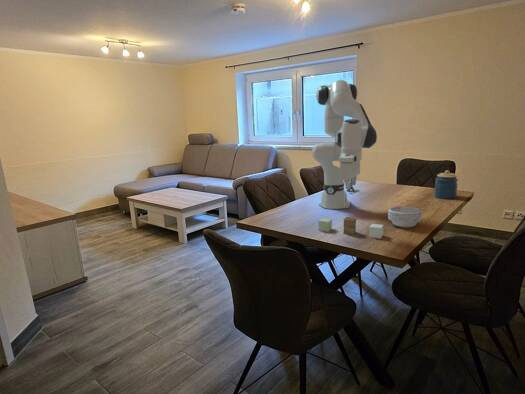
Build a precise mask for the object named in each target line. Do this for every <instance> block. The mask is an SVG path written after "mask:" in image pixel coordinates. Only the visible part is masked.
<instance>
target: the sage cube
mask: <svg viewBox="0 0 525 394" xmlns="http://www.w3.org/2000/svg"><path fill="white" fill-rule="evenodd" d="M332 225H333V219H331V218H327V217H326V218H325V217H322V218H320V219H319V220H318V231H320V232H326V233H328V232H330V231H331V230H332V229H333V226H332Z"/></svg>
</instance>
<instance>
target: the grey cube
mask: <svg viewBox="0 0 525 394" xmlns="http://www.w3.org/2000/svg"><path fill="white" fill-rule="evenodd" d="M368 232H369V233H368V237H369V238H370V239H371V238H373V239H378V240H379V239H380V240H381V239H382V237H383V235H384V224H378V223H371V224H370V225H369V231H368Z"/></svg>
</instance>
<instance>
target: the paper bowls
mask: <svg viewBox="0 0 525 394" xmlns="http://www.w3.org/2000/svg"><path fill="white" fill-rule="evenodd" d="M422 214H423V212H422V209H420V208H417V207H413V206H403V205H402V206H392V207H389V208H388V212H387V218H388V219H387V220H389V221H391V223H392V224H393V225H394V226H395V227H398V228H412V227H415V226H416V225H417V223H419V222H422Z"/></svg>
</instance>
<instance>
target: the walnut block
mask: <svg viewBox="0 0 525 394" xmlns="http://www.w3.org/2000/svg"><path fill="white" fill-rule="evenodd" d="M356 228H357V217H352V216H346V217H345V218H344V219H343V235H344V234H345V235H351V236H354V235H355V234H356V232H357V230H356Z"/></svg>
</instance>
